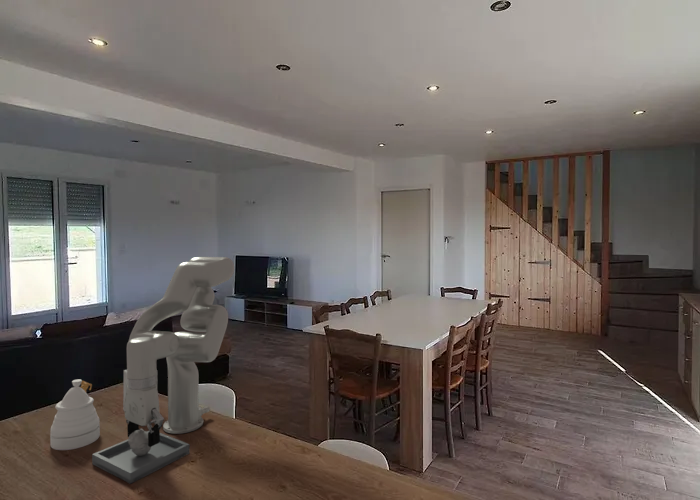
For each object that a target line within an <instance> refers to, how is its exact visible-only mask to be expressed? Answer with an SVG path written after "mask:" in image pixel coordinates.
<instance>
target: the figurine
mask: <svg viewBox="0 0 700 500" xmlns="http://www.w3.org/2000/svg"><path fill="white" fill-rule="evenodd" d="M79 387H80V388H82V389H83V390H84V391H85V392H86V393H87V390H89V391H91V390H92V387H93V384H92V383H89V382H87V381H85V380H82V382H81V384H80V386H79Z"/></svg>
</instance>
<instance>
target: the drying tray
mask: <svg viewBox="0 0 700 500" xmlns="http://www.w3.org/2000/svg"><path fill="white" fill-rule="evenodd" d="M146 432H148V433H149V432H150V431H149V430H146ZM188 455H190V444H189V443H188V442H186V441H183V440H180V439H177V438H174V437H172V436H169V435H167V434H165V433H161V432H160V442H159V443H158V444H156V445H153V446H151V449H150V451H149V452H148V453H147V454H145V455H143V456H137V455H135V454H134V453H133V452H132V448H130V445H129V443H128V439H126V440H122V441H121V442H117V443H116V444H113V445H112V446H108V447H106V448H104V449H101V450H99V451H96V452H94V453H92V456H91V457H92V458H91V462H92V463H91V464H92V465H93V466H95V467H97V468H99V469H101V470H103V471H105V472H107V473H108V474H111V475H112V476H115V477H116V478H118V479H120V480H122V481H124V482H126V483H127V484H129V485H130V484H133V483H135V482H137V481H139V480H141V479H143V478H144V477H147V476H149V475H151V474H152V473H154V472H157V471H158V470H160V469H162V468H165V467H166V466H168V465H170V464H172V463H174V462H176V461H178V460H180V459H181V458H184V457H186V456H188Z"/></svg>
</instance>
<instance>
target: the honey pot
mask: <svg viewBox="0 0 700 500" xmlns="http://www.w3.org/2000/svg"><path fill="white" fill-rule="evenodd" d="M82 381H83V380H82V379H81V378H80V379H78V378H77V379H73V380H72V381H71V384H72V387H71V388H69V390H68V391H67V392H66V393H65V395H64V397H63V398H62V400H60V401H59V402H58V403H56V404H55V409H56V411H57V412H56V414H55V415H54V419H53V421H52V425H51V426H50V434H49V435H50V448H51V449H53V450H57V451H68V450H69V451H70V450H75V449H79V448H83V447H85V446H89V445H91V444H93V443H94V442H96V441H97V440H98V439H99V437H100V436H101V435H100V434H101V433H100V431H101V428H100V423H101V422H100V421H101V420H100V417H99V416H98V413H97V411H96V410H97V409H96V408H95V405H94V404H93V403H94V401H95V399H94V398H93V397H91V396H89V395H88V393H87V391H86V392H85V391H84V390H83V389H82V388H80V387H81V385H82V384H81V382H82Z"/></svg>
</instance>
